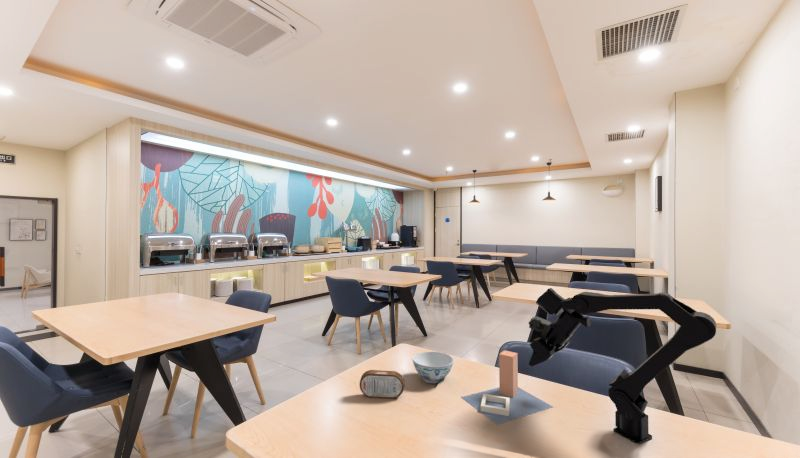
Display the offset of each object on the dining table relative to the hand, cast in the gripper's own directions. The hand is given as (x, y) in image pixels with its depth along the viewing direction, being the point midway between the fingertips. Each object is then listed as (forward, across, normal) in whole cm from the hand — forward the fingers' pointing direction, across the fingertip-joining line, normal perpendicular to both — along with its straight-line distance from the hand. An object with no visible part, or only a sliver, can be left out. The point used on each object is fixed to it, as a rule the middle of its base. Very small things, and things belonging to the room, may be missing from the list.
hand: (535, 361), depth 106 cm
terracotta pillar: (+14, +3, 0) cm, 14 cm away
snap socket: (+13, +14, +1) cm, 20 cm away
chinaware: (+30, +10, -21) cm, 38 cm away
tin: (+32, +32, -24) cm, 52 cm away
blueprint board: (+14, +9, +2) cm, 17 cm away
